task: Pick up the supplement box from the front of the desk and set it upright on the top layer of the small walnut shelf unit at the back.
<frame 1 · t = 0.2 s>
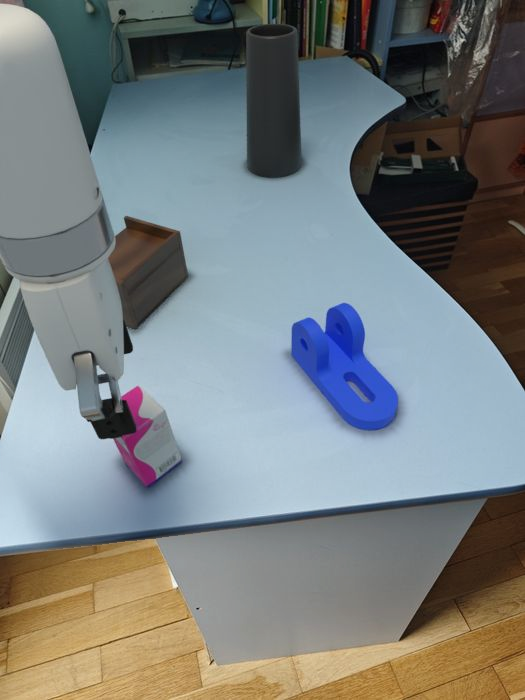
hand: (118, 390, 45), 22 cm above the table, tool pointing down, fingers open, 9 cm apart
shelf: (137, 292, 89), on the table
supplement box: (152, 462, 65), on the table
vase: (274, 165, 122), on the table
bracket: (346, 383, 73), on the table
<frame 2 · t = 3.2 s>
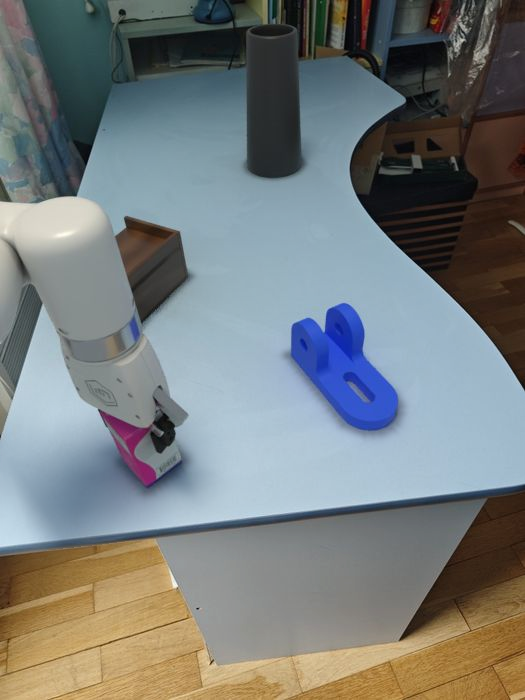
hand: (140, 430, 59), 7 cm above the table, tool pointing down, fingers closed on supplement box, 7 cm apart
supplement box: (152, 461, 65), on the table, touching gripper
everything else where it was.
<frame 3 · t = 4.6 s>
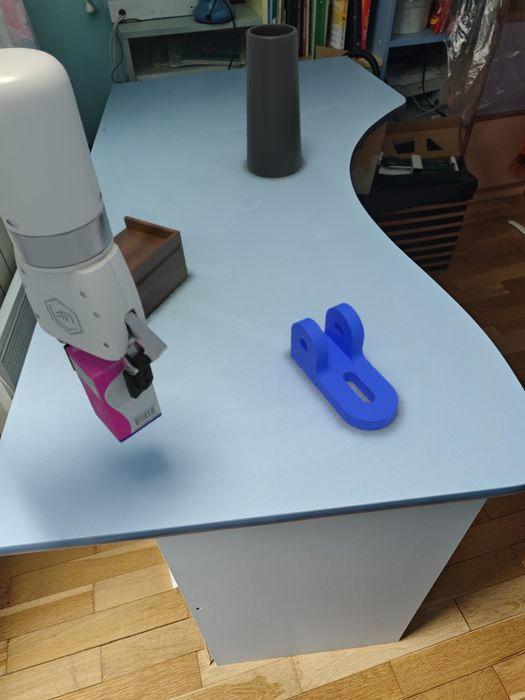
hand: (113, 374, 52), 18 cm above the table, tool pointing down, fingers closed on supplement box, 7 cm apart
supplement box: (128, 415, 57), point 10 cm above the table, touching gripper
everything else where it was.
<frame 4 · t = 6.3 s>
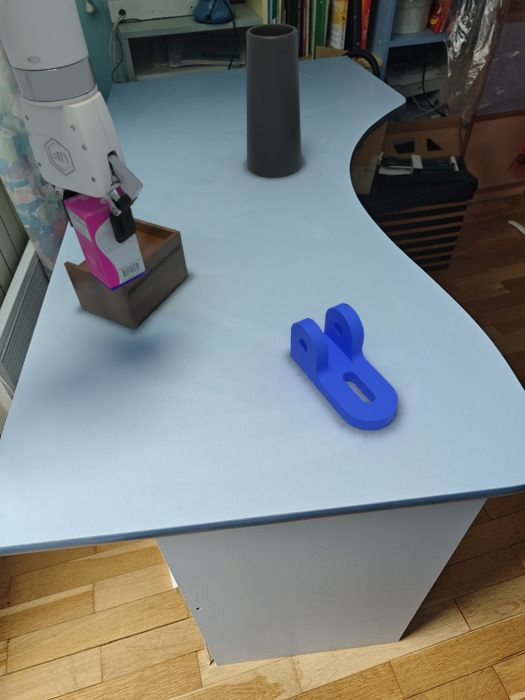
hand: (103, 229, 62), 23 cm above the table, tool pointing down, fingers closed on supplement box, 7 cm apart
supplement box: (118, 274, 68), point 15 cm above the table, touching gripper
everything else where it was.
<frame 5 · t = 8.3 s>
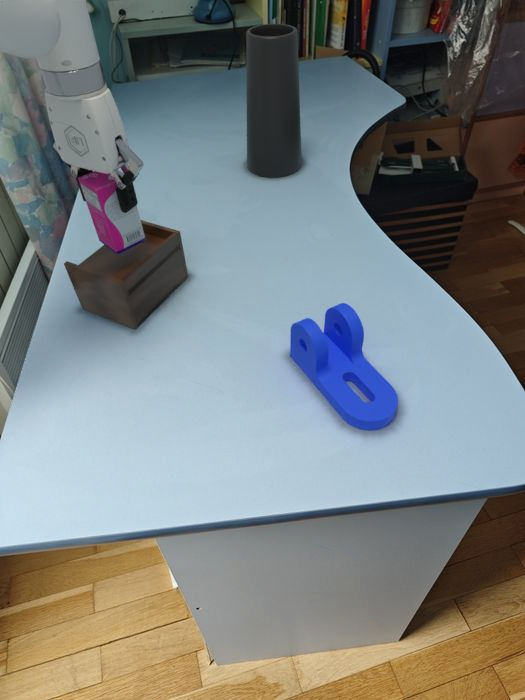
hand: (110, 202, 76), 18 cm above the table, tool pointing down, fingers closed on supplement box, 7 cm apart
supplement box: (122, 241, 81), point 11 cm above the table, touching gripper
everything else where it was.
when the fingers open (15 cm above the table, at t = 9.7 s): supplement box stays where it is, resting on shelf.
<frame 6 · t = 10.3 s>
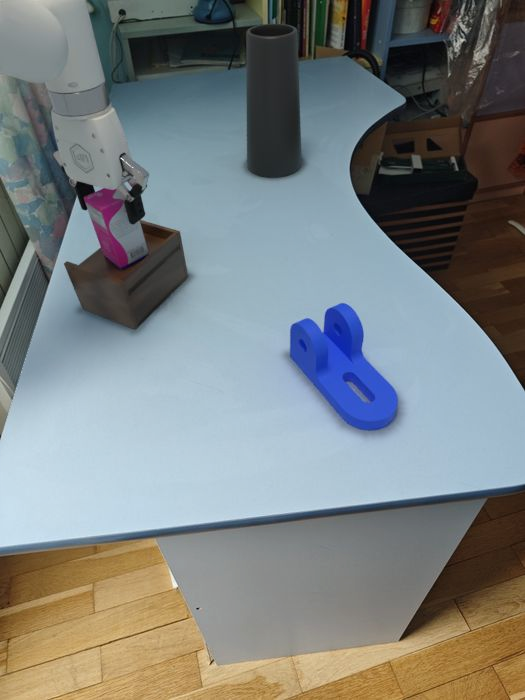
hand: (113, 212, 77), 16 cm above the table, tool pointing down, fingers open, 9 cm apart
supplement box: (126, 257, 83), point 8 cm above the table, touching shelf
everything else where it was.
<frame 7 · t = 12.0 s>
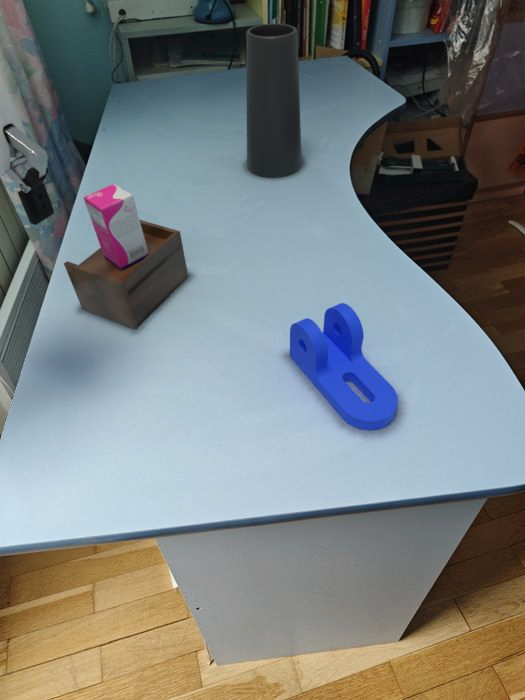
hand: (12, 209, 57), 27 cm above the table, tool pointing down, fingers open, 9 cm apart
nothing on the table moved.
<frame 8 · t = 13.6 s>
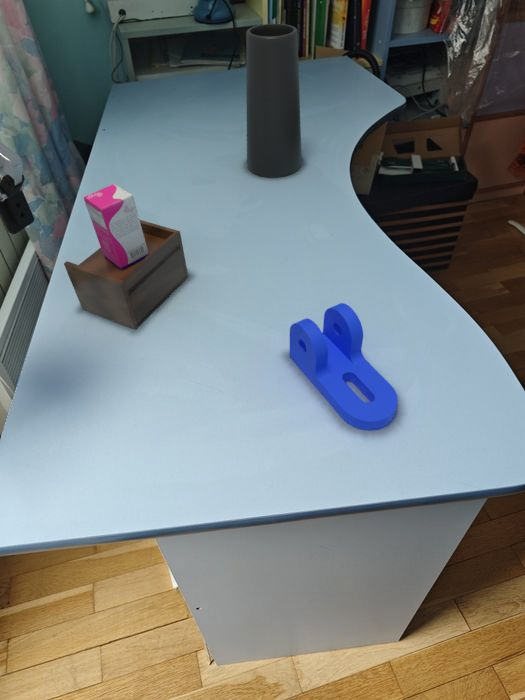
nothing on the table moved.
at the end: supplement box inside the target area on the shelf (0.1 cm from its centre), point 7.8 cm above the shelf's base; supplement box tilted 0°; the gripper is holding nothing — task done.
